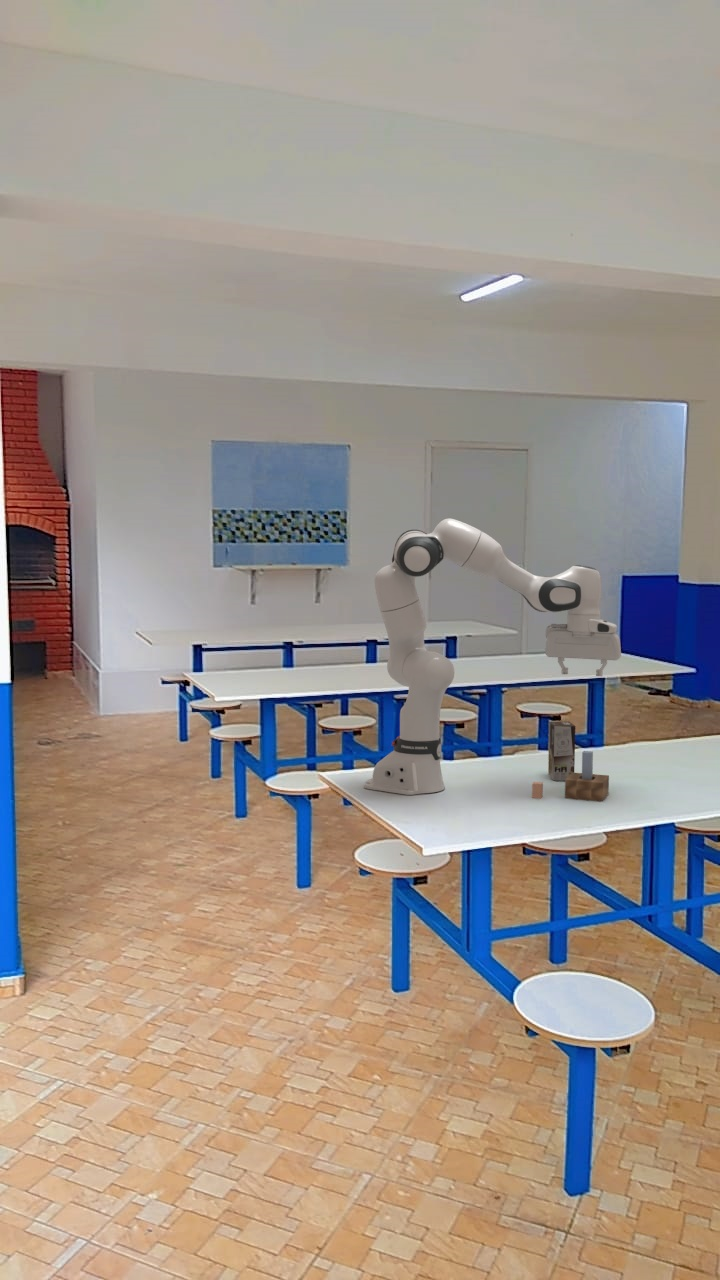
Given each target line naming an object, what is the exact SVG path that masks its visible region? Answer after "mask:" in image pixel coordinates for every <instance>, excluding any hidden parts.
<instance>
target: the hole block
mask: <svg viewBox="0 0 720 1280" xmlns="http://www.w3.org/2000/svg"><path fill="white" fill-rule="evenodd" d="M564 782H565V783H564V798H565V799H570V800H571V799H572V800H580V801H581V800H582V801H593V802H601V803H603V802H604V800H605V799H606V798H607V796H608V795H609V791H610V788H609V787H610V786H609V785H610V784H609V783H610V775H608V774H596V773H595V774H592V780H590V779H582V772H574V773H571V774H570V775H569V776H568V777H567V778H566V780H565V781H564Z"/></svg>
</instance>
